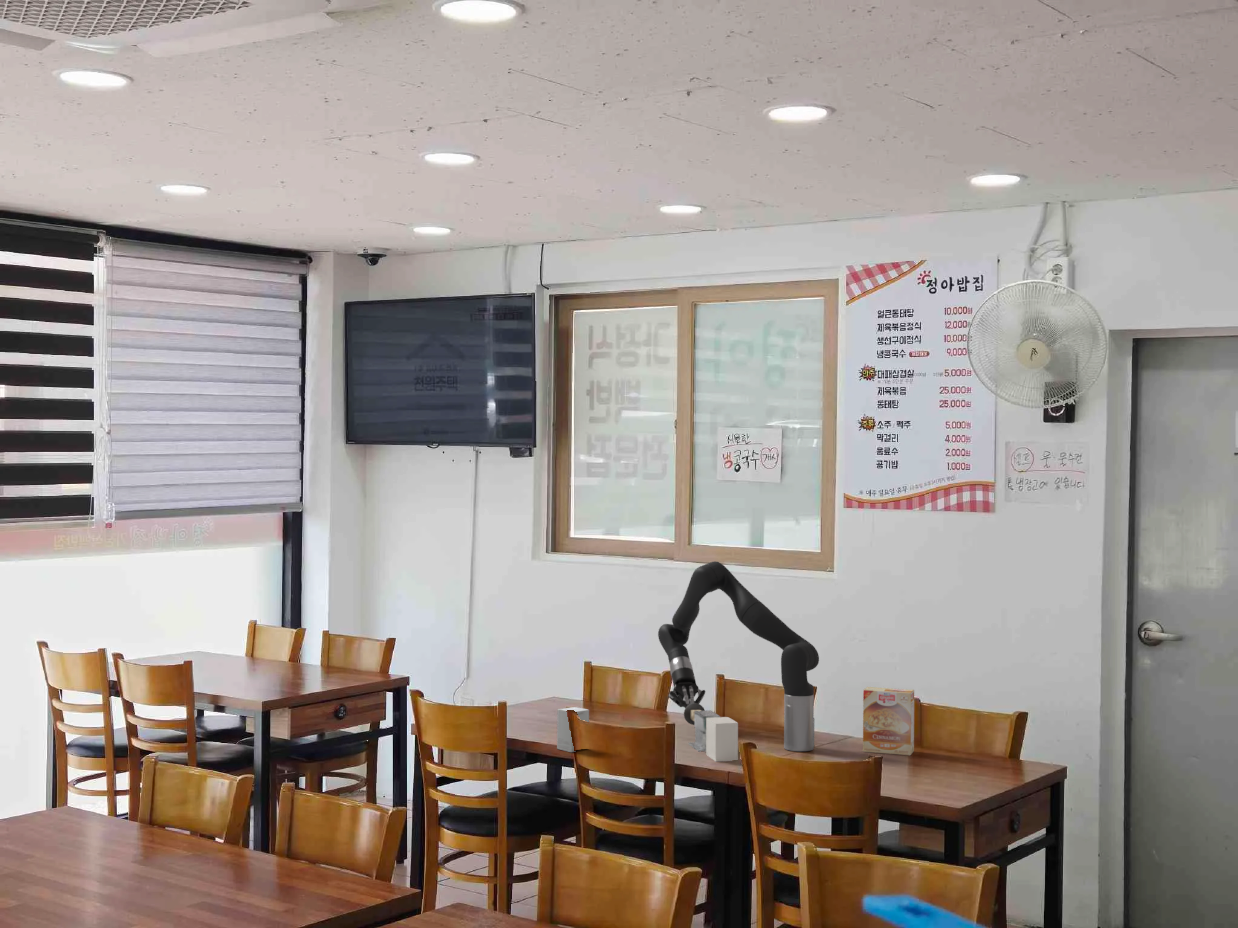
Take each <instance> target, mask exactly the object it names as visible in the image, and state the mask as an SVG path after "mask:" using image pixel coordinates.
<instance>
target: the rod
mask: <svg viewBox="0 0 1238 928" xmlns="http://www.w3.org/2000/svg"><path fill="white" fill-rule="evenodd" d="M695 711H706V710H705V708H704V707H703V705H701V704H700V703H699V704H698V703H691V704H689V705H688V706H687V707H686V708H685V707H684V711H683V718H684V720H685V721H686V722H687V723H688V724H690V725H692V726H695Z"/></svg>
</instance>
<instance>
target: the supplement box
mask: <svg viewBox="0 0 1238 928" xmlns="http://www.w3.org/2000/svg"><path fill="white" fill-rule="evenodd" d="M567 710H574V711H575V712H577V714H578V716H579V717H580V719H581V720H585V721H587V722H589V723H590V709H587V708H584V707H583V708H582V707H577V706H576V707H575V706H573V707H567V708H557V716H556V718H557V721H556V722H557V724H556V725H557V727H556V729H557V730H556V739H557V740H556V749H557V750H561V751H564V752H569V753H574V752H575V751H574V746H573V743H572V737H571V731H570V730H569V722H568V717H567V712H566V711H567Z"/></svg>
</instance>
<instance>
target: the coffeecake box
mask: <svg viewBox="0 0 1238 928" xmlns="http://www.w3.org/2000/svg"><path fill="white" fill-rule="evenodd" d="M862 697H863V698H862V699H863V700H862V701H863V702H862V706H863V707H862V709H863V713H862V716H863V717H862V718H863V720H862V752H864V753H876V754H887V755H889V754H890V755H900V756H901V755H902V756H911V755H912V754H913V753H914V751H915V689H907V688H906V689H904V688H890V687H876V686H866V688H864V689H863V695H862Z"/></svg>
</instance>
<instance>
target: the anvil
mask: <svg viewBox="0 0 1238 928" xmlns="http://www.w3.org/2000/svg"><path fill="white" fill-rule="evenodd" d="M714 717H721V716H720V715H719V714H717V713H716V712H714V711H713V710H712V709H711V710H710V709H709V710H708V709H707V710H705V711H695V725H694V729H695V731H694V733H695V734H694V737H695V739H694V740H695V741H692V742H691V741H690V742H687V744H688V746H690V747H691V746H692V747H691V748H692V749H694V750H695V751H697V752H701V751H703V752H706V718H714ZM701 753H702V752H701Z"/></svg>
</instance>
